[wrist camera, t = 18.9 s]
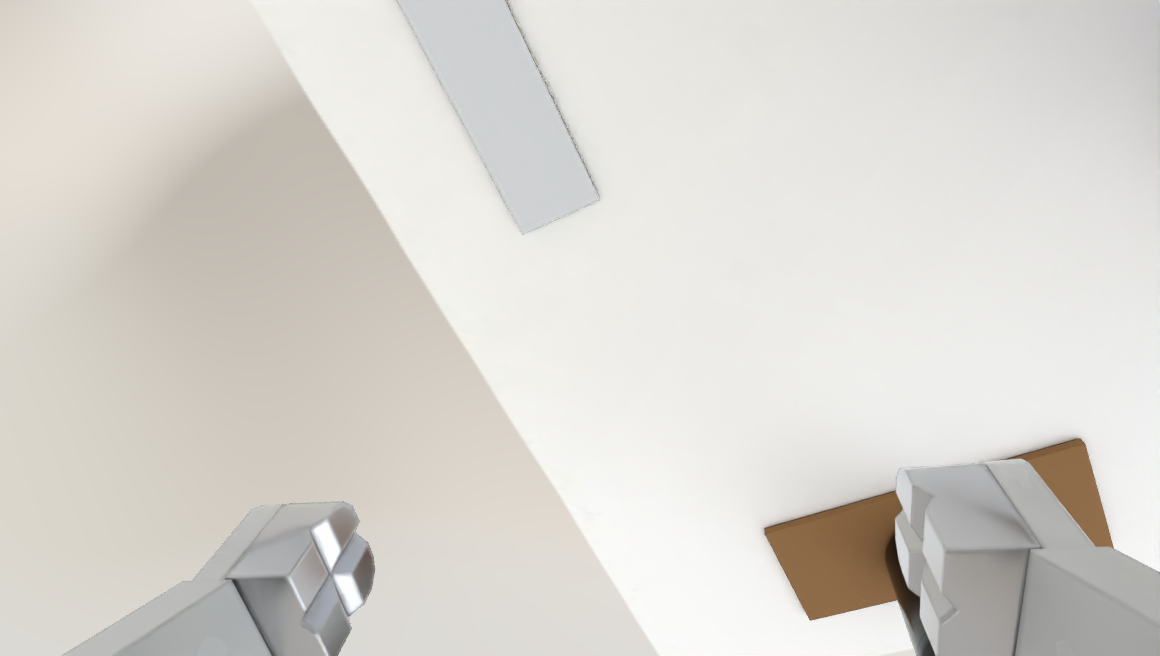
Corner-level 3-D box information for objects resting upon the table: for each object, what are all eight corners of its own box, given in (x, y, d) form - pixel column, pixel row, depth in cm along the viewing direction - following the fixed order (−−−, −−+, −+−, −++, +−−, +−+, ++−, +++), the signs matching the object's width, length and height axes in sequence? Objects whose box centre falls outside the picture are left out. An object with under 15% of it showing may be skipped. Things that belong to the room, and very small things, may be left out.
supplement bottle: (932, 493, 43) (1016, 658, 32) (1014, 542, 44) (1123, 718, 33) (859, 556, 46) (914, 725, 35) (937, 601, 47) (1014, 779, 36)
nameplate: (395, -231, 30) (309, -168, 31) (392, -233, 30) (305, -170, 31) (600, 198, 38) (523, 233, 39) (599, 200, 37) (522, 235, 39)
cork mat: (1080, 437, 40) (1085, 443, 40) (1109, 542, 43) (1114, 549, 43) (763, 528, 47) (765, 534, 46) (808, 614, 50) (810, 621, 49)
